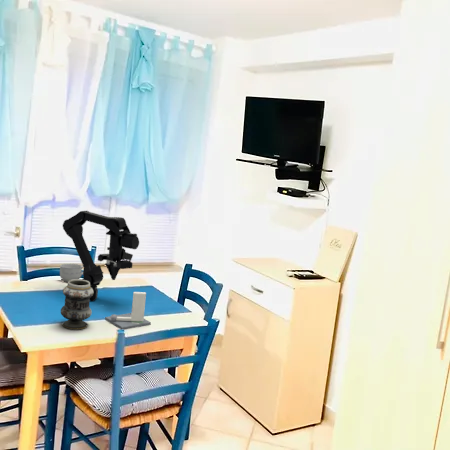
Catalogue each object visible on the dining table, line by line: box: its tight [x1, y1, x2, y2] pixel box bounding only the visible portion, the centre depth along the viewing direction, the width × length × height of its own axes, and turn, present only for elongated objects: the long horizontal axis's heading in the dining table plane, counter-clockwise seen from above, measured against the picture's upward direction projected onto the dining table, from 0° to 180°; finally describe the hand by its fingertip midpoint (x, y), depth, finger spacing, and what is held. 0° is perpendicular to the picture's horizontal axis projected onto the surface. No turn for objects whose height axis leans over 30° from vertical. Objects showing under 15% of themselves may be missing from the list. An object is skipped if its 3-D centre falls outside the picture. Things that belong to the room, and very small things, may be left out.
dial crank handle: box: [110, 291, 147, 321], centre depth 225 cm, size 2×13×12 cm, turn 104°
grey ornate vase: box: [60, 278, 94, 331], centre depth 215 cm, size 12×12×18 cm
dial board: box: [104, 312, 151, 330], centre depth 227 cm, size 13×14×1 cm
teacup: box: [59, 263, 84, 283], centre depth 275 cm, size 14×11×8 cm
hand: (113, 279), depth 244 cm, fingers closed
